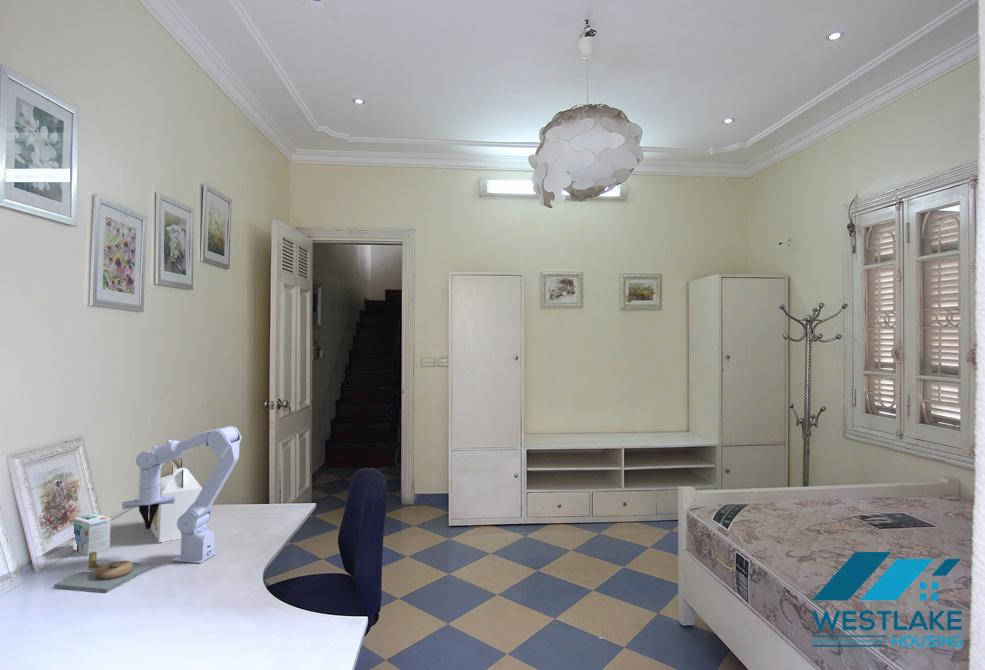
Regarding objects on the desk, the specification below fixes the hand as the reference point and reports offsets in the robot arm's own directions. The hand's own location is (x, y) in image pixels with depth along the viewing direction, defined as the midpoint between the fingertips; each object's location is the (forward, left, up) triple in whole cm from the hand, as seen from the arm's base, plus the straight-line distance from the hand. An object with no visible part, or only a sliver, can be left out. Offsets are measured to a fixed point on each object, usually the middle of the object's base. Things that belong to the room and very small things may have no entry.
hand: (148, 527), depth 172 cm
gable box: (+9, -23, -10) cm, 27 cm away
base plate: (0, +16, -9) cm, 18 cm away
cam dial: (0, +15, -8) cm, 17 cm away
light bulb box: (+23, -2, -10) cm, 25 cm away
